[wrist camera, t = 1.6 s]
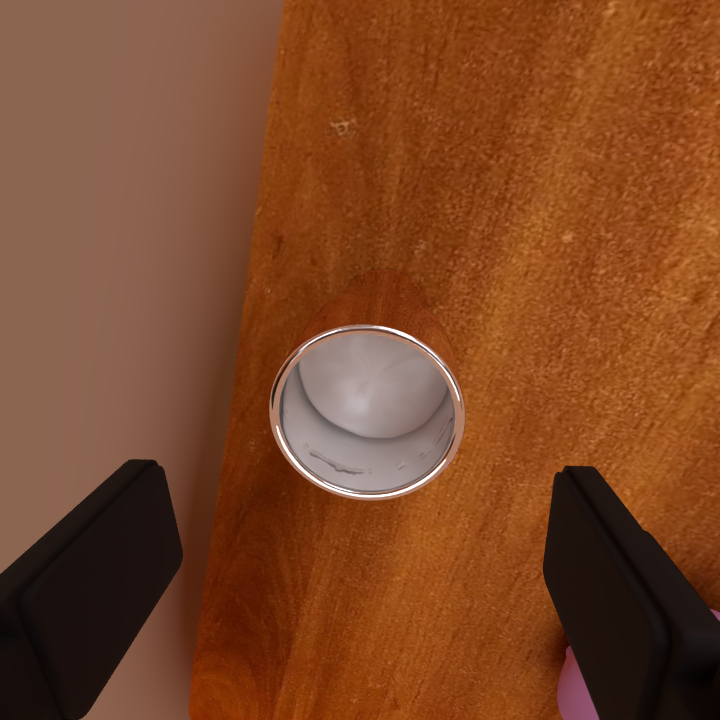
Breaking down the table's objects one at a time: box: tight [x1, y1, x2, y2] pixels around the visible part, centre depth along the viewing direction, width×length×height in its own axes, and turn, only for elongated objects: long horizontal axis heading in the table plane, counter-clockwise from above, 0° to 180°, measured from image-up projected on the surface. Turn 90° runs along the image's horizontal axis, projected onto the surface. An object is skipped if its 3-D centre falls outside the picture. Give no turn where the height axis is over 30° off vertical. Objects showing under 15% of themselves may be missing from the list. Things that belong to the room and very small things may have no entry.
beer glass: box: [269, 269, 465, 501], centre depth 21 cm, size 7×7×15 cm
